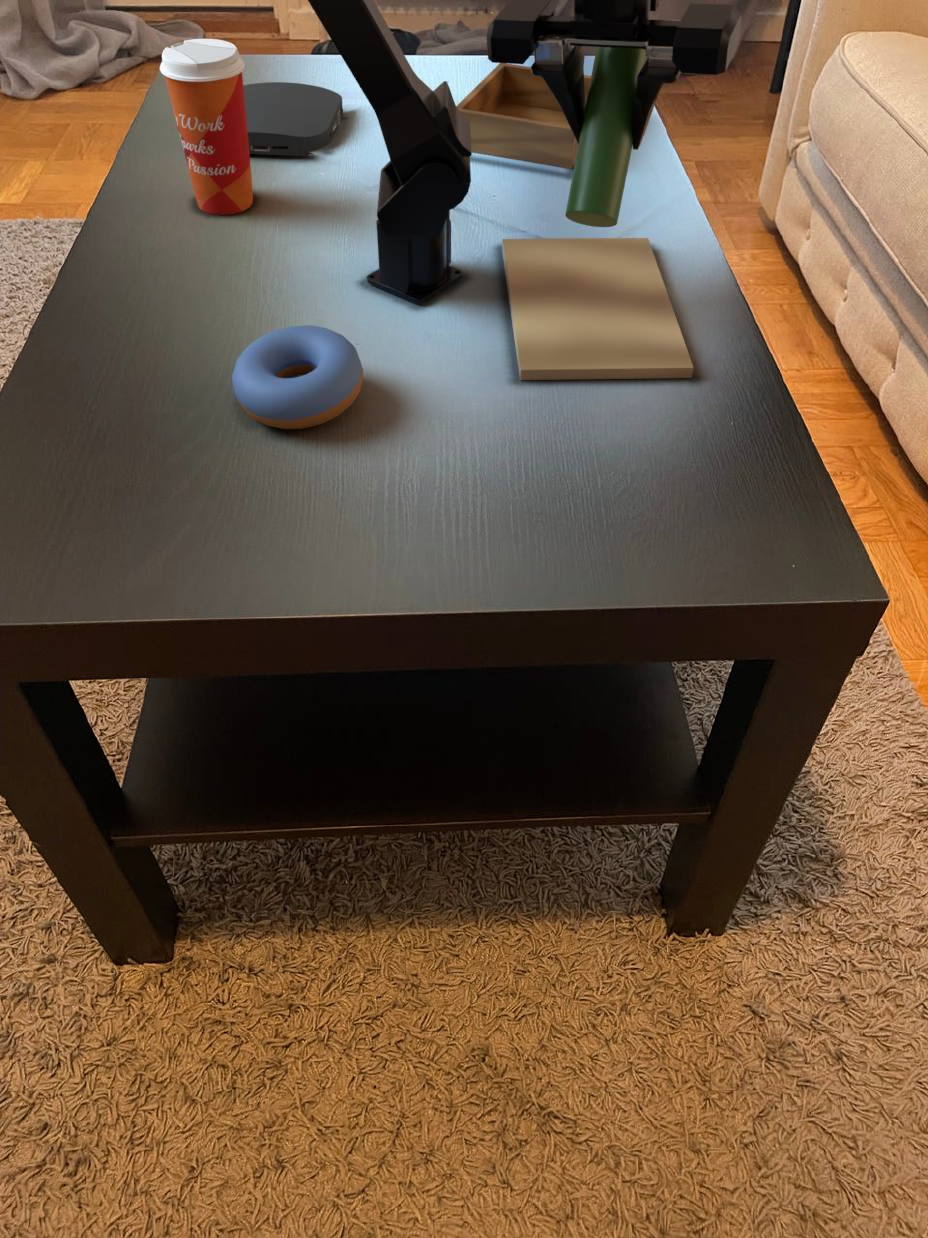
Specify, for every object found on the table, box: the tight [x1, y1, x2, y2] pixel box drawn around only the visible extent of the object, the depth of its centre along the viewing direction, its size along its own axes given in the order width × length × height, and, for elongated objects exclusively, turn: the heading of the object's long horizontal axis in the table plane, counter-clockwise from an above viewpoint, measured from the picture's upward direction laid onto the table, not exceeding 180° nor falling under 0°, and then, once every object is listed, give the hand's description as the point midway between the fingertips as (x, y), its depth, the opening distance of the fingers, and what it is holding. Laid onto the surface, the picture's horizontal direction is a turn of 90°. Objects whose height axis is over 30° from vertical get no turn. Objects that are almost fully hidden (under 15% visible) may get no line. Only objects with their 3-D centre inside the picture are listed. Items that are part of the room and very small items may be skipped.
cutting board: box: [501, 237, 695, 381], centre depth 86 cm, size 22×14×1 cm, turn 2°
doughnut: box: [231, 324, 364, 430], centre depth 74 cm, size 10×10×5 cm
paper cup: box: [159, 38, 254, 216], centre depth 94 cm, size 8×8×14 cm
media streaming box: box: [243, 81, 344, 156], centre depth 110 cm, size 15×15×3 cm
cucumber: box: [564, 47, 648, 228], centre depth 80 cm, size 4×4×14 cm
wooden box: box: [456, 63, 591, 170], centre depth 109 cm, size 16×14×5 cm
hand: (609, 145), depth 81 cm, fingers closed on cucumber, 4 cm apart
